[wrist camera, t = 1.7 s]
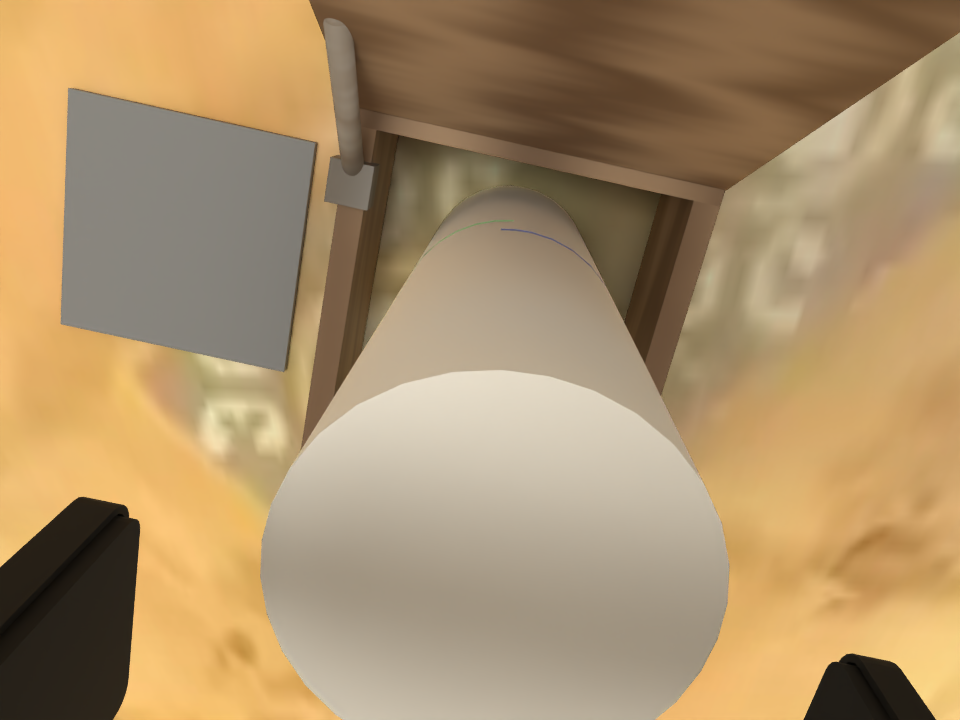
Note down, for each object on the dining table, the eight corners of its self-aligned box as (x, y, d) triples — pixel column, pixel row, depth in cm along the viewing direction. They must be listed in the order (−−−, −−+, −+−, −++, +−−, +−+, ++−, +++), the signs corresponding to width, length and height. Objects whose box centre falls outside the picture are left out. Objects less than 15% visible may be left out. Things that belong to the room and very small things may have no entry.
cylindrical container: (563, 351, 36) (650, 808, 13) (417, 319, 36) (234, 721, 13) (603, 205, 34) (799, 433, 11) (448, 169, 34) (294, 318, 10)
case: (734, 25, 32) (1113, -111, 12) (598, 482, 39) (688, 890, 19) (398, -52, 31) (187, -331, 11) (323, 424, 38) (110, 776, 18)
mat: (317, 142, 34) (315, 143, 34) (286, 369, 37) (283, 372, 37) (73, 88, 34) (68, 88, 33) (65, 321, 37) (60, 324, 37)
